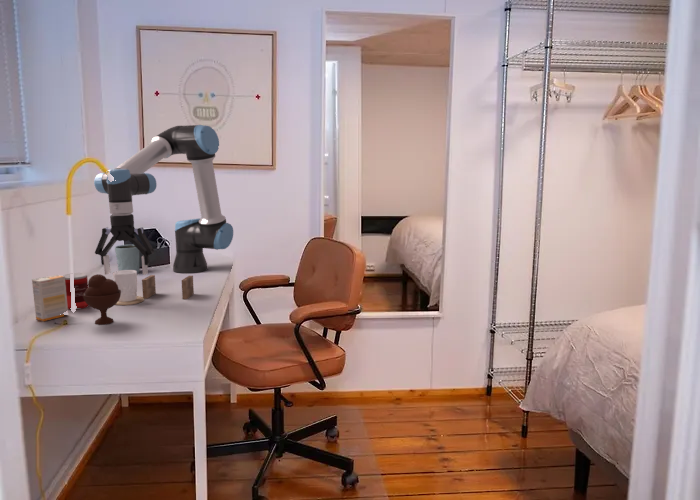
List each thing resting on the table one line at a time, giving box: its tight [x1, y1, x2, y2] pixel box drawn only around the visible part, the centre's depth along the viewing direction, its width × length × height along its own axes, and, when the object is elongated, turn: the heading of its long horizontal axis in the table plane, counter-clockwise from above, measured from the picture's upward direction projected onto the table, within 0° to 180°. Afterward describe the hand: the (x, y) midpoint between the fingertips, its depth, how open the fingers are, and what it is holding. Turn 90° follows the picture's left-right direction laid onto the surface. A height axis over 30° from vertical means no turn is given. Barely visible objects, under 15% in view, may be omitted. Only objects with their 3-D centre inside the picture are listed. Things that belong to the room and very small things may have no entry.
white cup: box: [112, 270, 138, 302], centre depth 195 cm, size 8×8×10 cm
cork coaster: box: [114, 295, 145, 306], centre depth 196 cm, size 11×11×1 cm
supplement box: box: [31, 274, 69, 322], centre depth 175 cm, size 8×5×13 cm, turn 145°
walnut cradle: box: [141, 274, 195, 300], centre depth 202 cm, size 8×16×7 cm, turn 87°
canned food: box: [62, 272, 90, 310], centre depth 187 cm, size 8×8×11 cm
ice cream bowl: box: [83, 273, 121, 326], centre depth 170 cm, size 11×11×15 cm
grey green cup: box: [114, 244, 141, 274], centre depth 243 cm, size 10×10×12 cm
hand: (126, 273), depth 194 cm, fingers open, 13 cm apart
